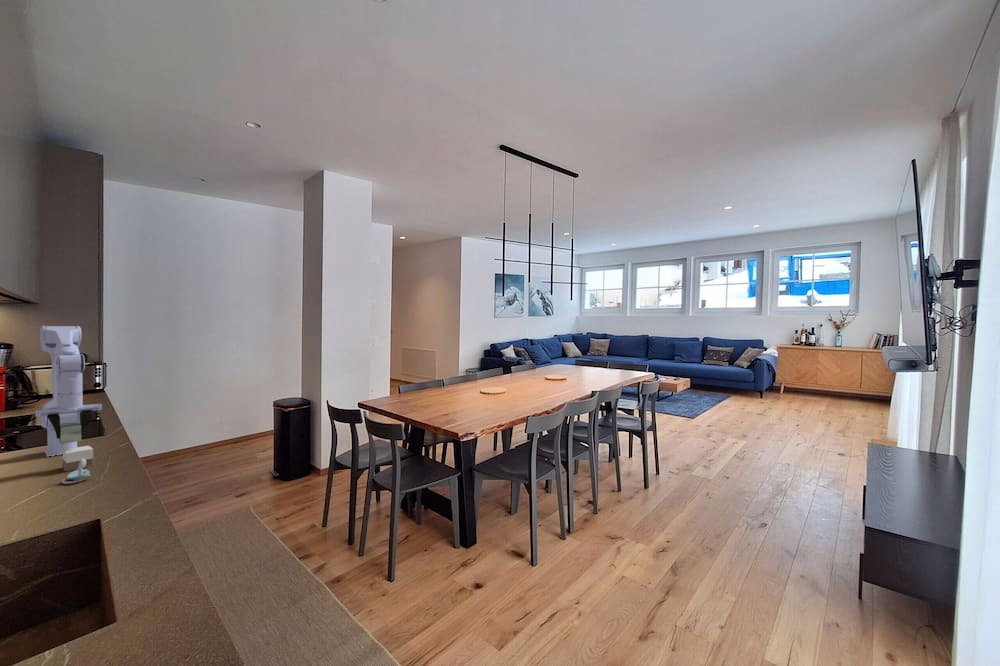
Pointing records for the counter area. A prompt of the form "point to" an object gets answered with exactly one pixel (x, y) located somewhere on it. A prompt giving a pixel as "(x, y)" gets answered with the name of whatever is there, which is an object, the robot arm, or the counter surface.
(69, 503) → the counter surface
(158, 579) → the counter surface
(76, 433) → the green block
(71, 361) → the robot arm
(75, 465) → the base slab
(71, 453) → the top slab
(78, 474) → the pacifier
